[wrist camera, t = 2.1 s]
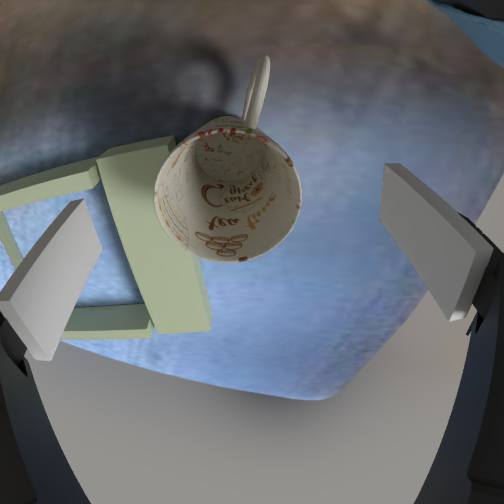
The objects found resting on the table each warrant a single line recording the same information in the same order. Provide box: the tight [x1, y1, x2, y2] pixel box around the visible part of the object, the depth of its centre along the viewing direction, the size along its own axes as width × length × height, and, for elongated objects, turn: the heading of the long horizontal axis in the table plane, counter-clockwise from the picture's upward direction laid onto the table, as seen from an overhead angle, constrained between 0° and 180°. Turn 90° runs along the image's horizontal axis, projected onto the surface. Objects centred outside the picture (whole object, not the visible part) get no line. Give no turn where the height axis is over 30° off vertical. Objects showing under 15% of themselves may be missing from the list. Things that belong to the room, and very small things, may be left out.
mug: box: [153, 55, 302, 263], centre depth 20 cm, size 8×13×10 cm, turn 166°
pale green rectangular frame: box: [0, 135, 212, 340], centre depth 29 cm, size 20×22×4 cm
